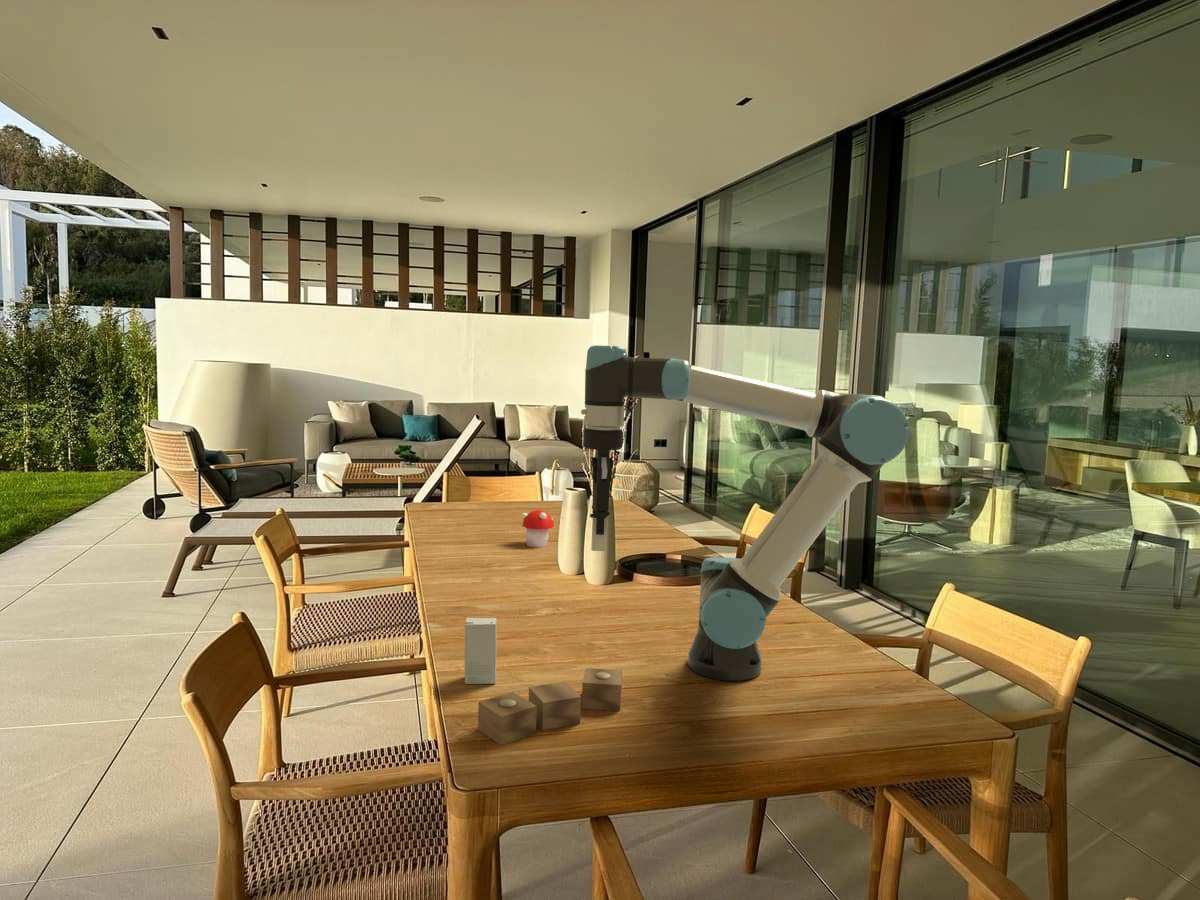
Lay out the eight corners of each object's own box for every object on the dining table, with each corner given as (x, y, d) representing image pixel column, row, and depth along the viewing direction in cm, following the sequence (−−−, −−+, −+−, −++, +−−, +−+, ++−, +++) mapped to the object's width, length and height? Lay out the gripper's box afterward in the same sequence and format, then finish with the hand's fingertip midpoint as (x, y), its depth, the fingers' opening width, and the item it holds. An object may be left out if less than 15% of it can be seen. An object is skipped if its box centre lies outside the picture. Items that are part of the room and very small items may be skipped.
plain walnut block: (564, 707, 145) (565, 681, 144) (580, 724, 139) (581, 696, 138) (528, 713, 142) (528, 686, 141) (542, 731, 136) (543, 702, 135)
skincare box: (496, 676, 158) (498, 616, 156) (495, 685, 153) (497, 624, 152) (464, 676, 157) (466, 616, 156) (463, 685, 152) (464, 623, 151)
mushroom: (518, 541, 272) (519, 507, 271) (549, 540, 275) (550, 506, 274) (524, 549, 262) (525, 513, 261) (557, 548, 265) (558, 512, 264)
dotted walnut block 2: (621, 695, 151) (622, 669, 151) (620, 711, 144) (621, 684, 144) (584, 693, 152) (585, 666, 151) (581, 709, 145) (582, 681, 144)
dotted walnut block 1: (512, 719, 140) (513, 690, 139) (535, 734, 134) (536, 704, 134) (477, 730, 135) (478, 700, 134) (500, 746, 130) (501, 715, 129)
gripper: (581, 424, 157) (577, 541, 160) (585, 430, 144) (580, 558, 147) (619, 425, 158) (614, 542, 160) (627, 431, 145) (621, 558, 148)
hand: (598, 549), depth 154 cm, fingers closed
